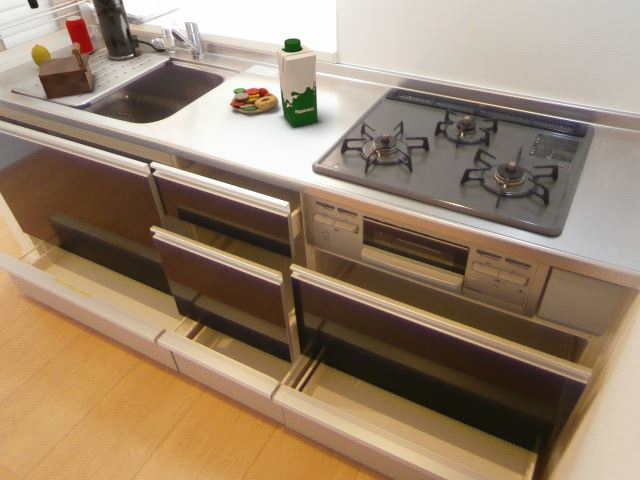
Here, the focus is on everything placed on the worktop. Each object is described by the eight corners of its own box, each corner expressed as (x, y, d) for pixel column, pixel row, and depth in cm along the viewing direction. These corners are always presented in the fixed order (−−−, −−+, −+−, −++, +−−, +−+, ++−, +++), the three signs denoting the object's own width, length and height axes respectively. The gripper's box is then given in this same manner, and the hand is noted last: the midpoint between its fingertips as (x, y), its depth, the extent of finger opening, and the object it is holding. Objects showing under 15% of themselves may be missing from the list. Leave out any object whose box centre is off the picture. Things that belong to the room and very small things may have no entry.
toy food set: (280, 112, 138) (279, 101, 136) (232, 119, 137) (230, 107, 135) (274, 92, 148) (273, 82, 146) (229, 98, 147) (227, 87, 145)
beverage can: (78, 50, 182) (66, 15, 174) (96, 49, 182) (85, 14, 174) (74, 56, 177) (61, 21, 169) (92, 55, 177) (80, 19, 170)
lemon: (50, 71, 167) (41, 47, 162) (34, 72, 168) (24, 47, 162) (57, 65, 172) (48, 41, 166) (41, 65, 172) (32, 41, 167)
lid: (89, 56, 159) (83, 37, 155) (87, 71, 150) (80, 52, 146) (43, 62, 156) (36, 43, 153) (39, 78, 147) (31, 58, 143)
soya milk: (309, 109, 139) (305, 35, 127) (322, 122, 133) (319, 46, 120) (279, 116, 137) (272, 41, 124) (291, 130, 131) (285, 53, 118)
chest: (93, 76, 163) (86, 56, 159) (91, 92, 154) (84, 72, 149) (51, 82, 161) (43, 62, 156) (47, 99, 151) (39, 78, 147)
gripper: (20, -57, 133) (46, 12, 144) (26, -66, 143) (50, 0, 154) (-11, -54, 131) (18, 16, 143) (-3, -63, 141) (24, 3, 152)
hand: (35, 7), depth 148 cm, fingers closed
